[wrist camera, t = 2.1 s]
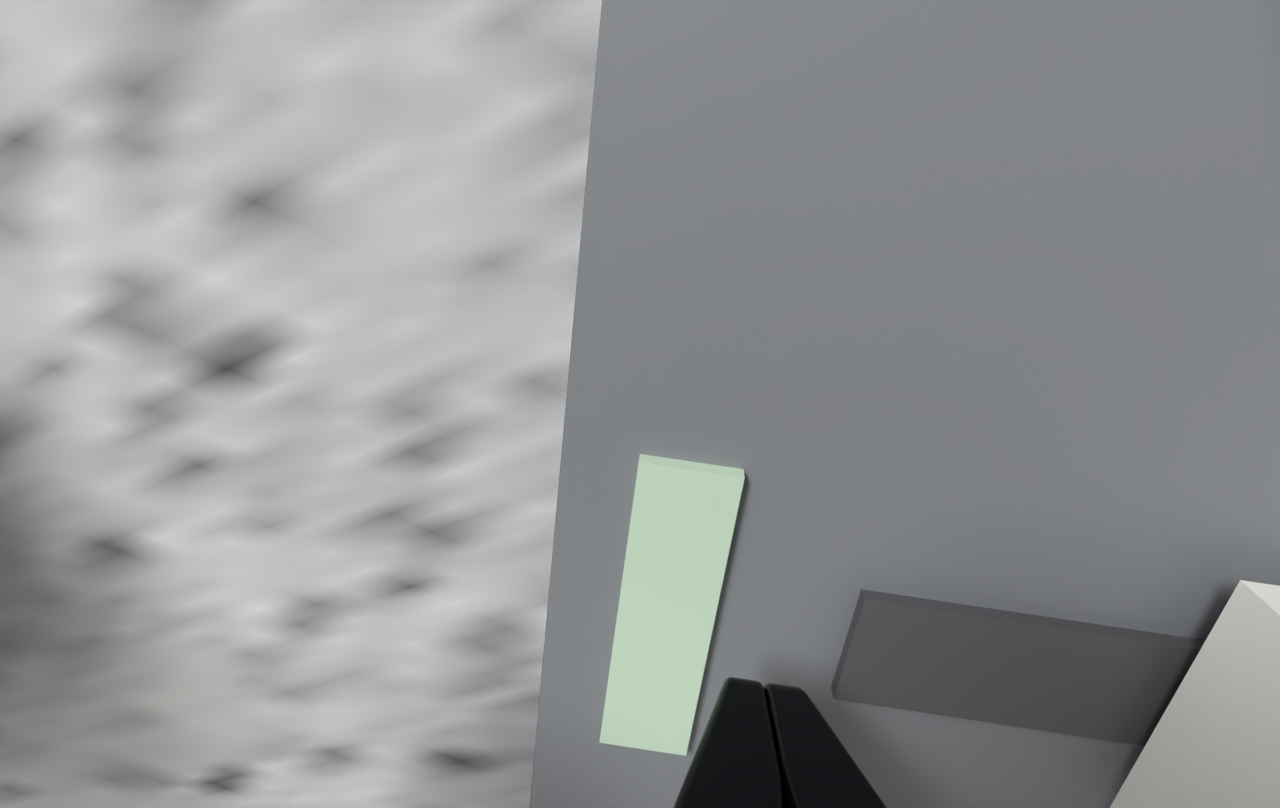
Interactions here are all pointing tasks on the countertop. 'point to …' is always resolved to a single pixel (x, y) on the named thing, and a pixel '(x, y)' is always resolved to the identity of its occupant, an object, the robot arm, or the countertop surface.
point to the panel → (914, 385)
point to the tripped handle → (1220, 718)
